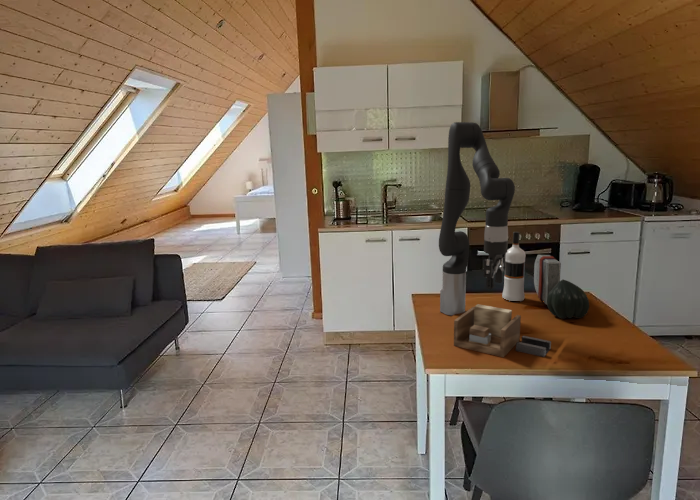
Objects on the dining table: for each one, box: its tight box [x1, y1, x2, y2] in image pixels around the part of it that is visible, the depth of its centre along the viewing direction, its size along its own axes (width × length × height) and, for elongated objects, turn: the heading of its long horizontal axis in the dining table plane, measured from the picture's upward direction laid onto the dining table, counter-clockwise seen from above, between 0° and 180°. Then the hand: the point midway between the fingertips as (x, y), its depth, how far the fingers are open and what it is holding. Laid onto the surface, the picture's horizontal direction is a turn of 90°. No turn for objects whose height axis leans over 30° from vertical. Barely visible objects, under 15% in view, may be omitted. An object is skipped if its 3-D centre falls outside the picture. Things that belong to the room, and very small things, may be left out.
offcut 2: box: [469, 334, 491, 344], centre depth 161 cm, size 6×4×2 cm, turn 58°
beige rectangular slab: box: [473, 303, 513, 337], centre depth 167 cm, size 12×3×11 cm, turn 54°
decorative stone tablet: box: [533, 254, 562, 305], centre depth 211 cm, size 19×6×30 cm
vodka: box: [501, 231, 527, 302], centre depth 209 cm, size 9×9×30 cm
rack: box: [453, 306, 522, 358], centre depth 164 cm, size 17×16×10 cm
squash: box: [546, 279, 590, 319], centre depth 189 cm, size 14×15×15 cm
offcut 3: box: [469, 341, 490, 347], centre depth 162 cm, size 6×4×2 cm, turn 54°
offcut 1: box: [470, 325, 489, 338], centre depth 161 cm, size 5×4×2 cm
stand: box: [515, 335, 552, 358], centre depth 158 cm, size 9×8×4 cm
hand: (494, 285), depth 164 cm, fingers open, 8 cm apart
